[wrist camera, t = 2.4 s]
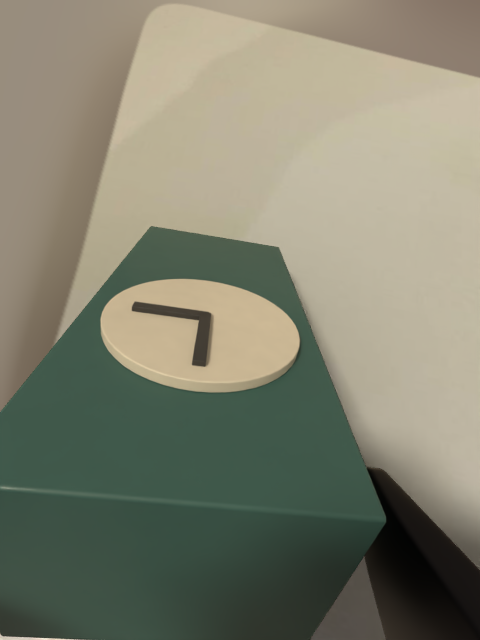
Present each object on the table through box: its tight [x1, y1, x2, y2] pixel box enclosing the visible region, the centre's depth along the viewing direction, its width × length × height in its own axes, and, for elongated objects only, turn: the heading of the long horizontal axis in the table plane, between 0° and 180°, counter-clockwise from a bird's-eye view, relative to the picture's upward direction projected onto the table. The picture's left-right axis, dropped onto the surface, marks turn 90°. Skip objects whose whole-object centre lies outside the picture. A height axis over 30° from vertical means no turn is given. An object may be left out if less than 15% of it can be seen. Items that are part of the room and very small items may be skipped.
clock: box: [0, 226, 386, 640], centre depth 12 cm, size 13×6×13 cm, turn 174°
